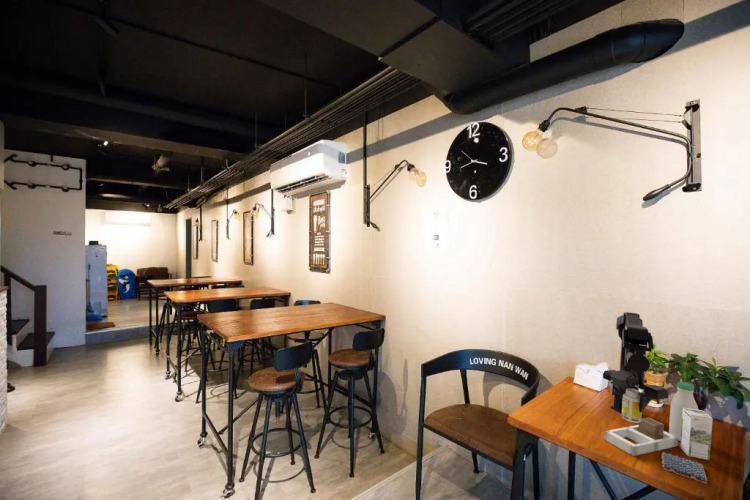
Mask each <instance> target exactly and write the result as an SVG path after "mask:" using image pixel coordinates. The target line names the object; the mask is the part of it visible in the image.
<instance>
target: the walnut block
mask: <svg viewBox="0 0 750 500" xmlns="http://www.w3.org/2000/svg"><path fill="white" fill-rule="evenodd" d="M638 425H639V432H640V433H642V434H644V435H646V436H648V437H650V438H652V439H654V440H658V439H663V431H665V430H664V427H665V424H664V423H662V422H660V421H658V420H656V419H653V418H652V417H642V419H641V422H640V423H638Z"/></svg>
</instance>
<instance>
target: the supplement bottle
mask: <svg viewBox="0 0 750 500" xmlns="http://www.w3.org/2000/svg"><path fill="white" fill-rule="evenodd" d="M638 393H641V392H640V390H639V391H638V390H635V389H631V388H627V389H626V393H625V394H623V401H622V413H621V417H622V418H623V420H625V421H627V422H630V423H634V424H635V423H636V424H639V423H640V422H641V419H642V418H643V416H642V415H643V412H639V403H640V397H639V395H638Z"/></svg>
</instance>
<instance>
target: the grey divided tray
mask: <svg viewBox="0 0 750 500" xmlns="http://www.w3.org/2000/svg"><path fill="white" fill-rule="evenodd" d="M626 438H628V439H630V440H633V441H634V442H635V443H633V442H632V441H629V440H628V439H626ZM603 439H604V440H605V441H606V442H608V443H610V444H612V445H613V446H615V447H617V448H619V449H620V450H622V451H624V452H626V453H628V454H629V455H630V456H632V457H635V456H639V455H643V454H649V453H653V452H657V451H658V452H659V451H662V450H667V449H671V448H674V447H675V448H676V447H678V446H679V445H678V443H679V440H678V437H676V436H674V435H671V434H669V432H668V431H665V430H664V431H663V439H658V440H654V439H652V438H650V437H648V436H646V435H644V434H642V433H640V432H639V424H636V425H631V426H625V427H621V428H614V429H609V430H605V431H604V438H603Z"/></svg>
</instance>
